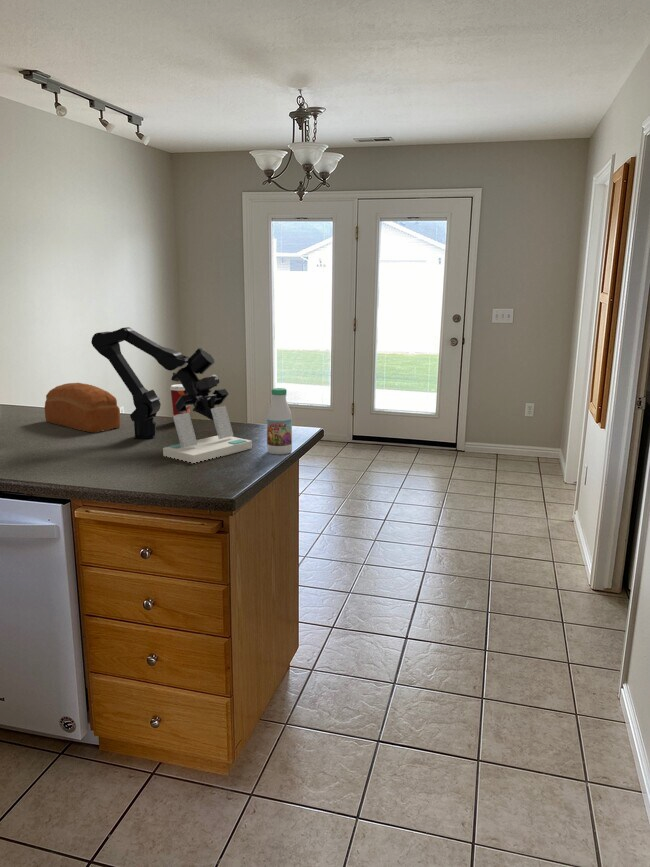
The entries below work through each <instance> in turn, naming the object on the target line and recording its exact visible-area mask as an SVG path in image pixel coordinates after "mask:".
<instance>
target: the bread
mask: <svg viewBox="0 0 650 867" xmlns="http://www.w3.org/2000/svg"><path fill="white" fill-rule="evenodd" d="M45 399H46V400H45V402H44V417H45V421H46V422H48V423H51V424H54V425H57V424H58V425H57V426H61V425H62V427H65V426H66V428H70V429H73V428H74V429H73V430H77V429H78V431H81V430H82V432H85V431H87V432H86V433H98V432H97V431H102V430H108V431H110V430H109V429H112V430H114V429H113V428H116V429H119V428H120V427H121V412H120V407H119V406H118V402H117V401H118V399H117V398H116V397H115V396H114V395H113V394H112V393H110V392H108V391H107V390H104V389H103V388H100V387H98V386H95V385H92V384H89V383H88V384H87V383H82V382H70V383H63V384H60V385H57V386H55V387H54V388H52V389H50V390H49V391H48V392H47V394H46V395H45ZM118 427H119V428H118Z"/></svg>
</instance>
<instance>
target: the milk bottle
mask: <svg viewBox="0 0 650 867" xmlns="http://www.w3.org/2000/svg"><path fill="white" fill-rule="evenodd" d="M287 394H288V393H287V388H284V387H276V388H272V389H271V398H272V399H271V403H270V406H269V408H268V410H267V414H266V415H267V416H266V445H267V446H266V448H267V451H266V452H267V453H269V454H271V455H277V456H278V455H279V456H281V455H288V454H290V453H292V451H293V430H292V429H293V426H292V424H293V423H292V422H293V420H292V418H293V417H292V412H291V409H290V406H289V404H288V401H287Z"/></svg>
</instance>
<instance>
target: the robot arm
mask: <svg viewBox="0 0 650 867" xmlns="http://www.w3.org/2000/svg"><path fill="white" fill-rule="evenodd" d="M124 341H125V342H127V343H129V344H130V345H132V346H134V347H135V348H137V349H139V350H140V351H142V352H144V353H146V354H148V355H149V356H151V357H152V358H154V360H156V362H157V363H158V364H159V365H160V366H161V367H163V368H164V369H165V370H167V371H175V370H177V371H176V372H173V373H172V376H171V381H172V382H179V383H180V384H182V386H183V387H184V389H185V390H184V394H187V395H181V397H180V398H179V400H178V401H177V403H176V405H175V407H176V409H177V411H178V412H183V411H185V410H186V406H185V405H190V406H191V405H193V409H192V411H193V412H195V413H198V414H199V415H202V416H203V417H206V418H208V419H209V420H210V421H212V422H214V420H213V416H212V412H211V409H212V408H216V407H217V406H220V405H221V404H223V402H224V401H225V400H226V399H227V397H228V396H229V392H228V391H227V389H225V388H219V389H215V390H214V391H213V392H212V389H213V388H215V387H216V388H217V386H218V385H219V383H220V379H219V377H218V376H217V374H212V375H210V376H206V377H203V378H201V379H200V378H199V377H198V375H199V374H200V375H203V374H204V373H205V372H206V371H207V370H208V369H210V368H211V366H213V365H214V364H215V359H214V357H213V356H212V355H211V354H210V353H209V352H207V351H205V350H203V348H201V347H200V348H199V347H198V348H197V349H196V350H195V352H194V353H193V354H192V355H191V356H186V355H184V354H183V353H182V352H180V351H178V350H176V349H175V350H174V349H172V348H169V347H164V346H162V345H160V344H158V343H156V342H154V341H153V340H151V339H150V338H148V337H146V336H144V335H142V334H141V333H139V332H138V331H135V330H134V329H133V328H131V327H129V326H127V327H121V328H120V329H119V328H118V329H116V330H113V331H103V332H102V331H101V332H95V333H94V335H92V337H91V342H90V343H91V345H92V347H93V349H95V350H96V352H98V354H100V355H101V356H103V357H104V358H106V359H107V360H108V361H109V362H110V364H111V366H112V367H113V369H114V370H115V372H116V374H117V375H118V376H119V378H120V379H121V381H122V382H123V383H124V385H125V386H126V388H127V389H128V391H129V392H130V394H131V396H132V401H133V406H134V407H135V409H134V411H132V412H131V413H130V414H129V415H130V416H129V417H130V419H131V421H132V422H133V426H134V430H133V431H134V436H133V439H134V440H135V439H154V438H155V436H156V435H157V422H156V421H155V418H156V416H157V413H158V412H159V411H160V409H161V405H162V404H161V401H160V400H161V398H160V397H158V395H157V394H156V391H155V390H154V389H150V390H148V389H147V388H146V387H145V386H144V385H143V383H142V382H141V380H140V379H139V377H138V376H137V374H136V373H135V372H134V370H133V368H132V367H131V366H130V364H129V363H128V361H127V359H126V358H125V357H124V355H123V354H122V351H121V345H120V343H121V342H124ZM183 366H184V367H183ZM211 392H212V393H211ZM210 393H211V394H210ZM215 406H216V407H215Z"/></svg>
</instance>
